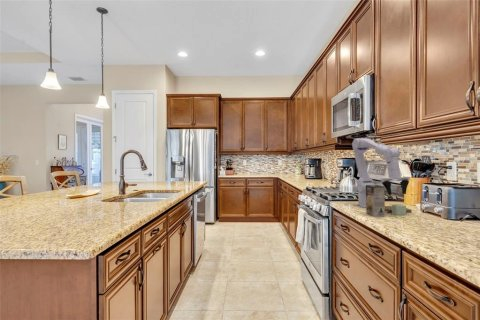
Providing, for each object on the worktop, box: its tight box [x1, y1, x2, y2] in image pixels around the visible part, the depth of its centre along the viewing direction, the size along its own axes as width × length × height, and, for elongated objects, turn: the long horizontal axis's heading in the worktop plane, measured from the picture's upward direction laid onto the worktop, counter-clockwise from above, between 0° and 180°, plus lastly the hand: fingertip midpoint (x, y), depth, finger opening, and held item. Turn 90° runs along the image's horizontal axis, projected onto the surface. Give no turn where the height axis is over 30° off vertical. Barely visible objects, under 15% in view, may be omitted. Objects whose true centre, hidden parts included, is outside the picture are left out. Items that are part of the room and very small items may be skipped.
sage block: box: [391, 203, 407, 216], centre depth 143 cm, size 5×5×5 cm
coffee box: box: [365, 184, 386, 217], centre depth 143 cm, size 9×6×16 cm
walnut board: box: [385, 205, 413, 214], centre depth 153 cm, size 12×12×2 cm
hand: (397, 194), depth 143 cm, fingers open, 7 cm apart
